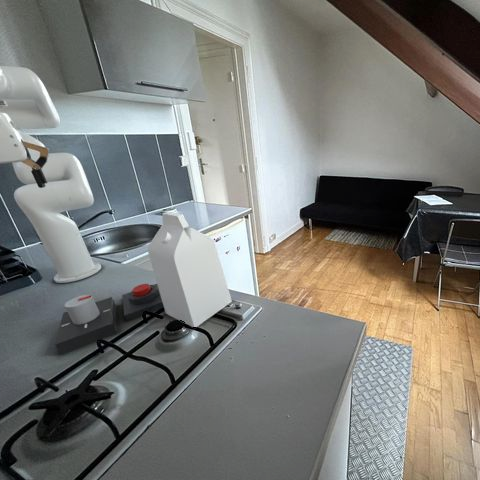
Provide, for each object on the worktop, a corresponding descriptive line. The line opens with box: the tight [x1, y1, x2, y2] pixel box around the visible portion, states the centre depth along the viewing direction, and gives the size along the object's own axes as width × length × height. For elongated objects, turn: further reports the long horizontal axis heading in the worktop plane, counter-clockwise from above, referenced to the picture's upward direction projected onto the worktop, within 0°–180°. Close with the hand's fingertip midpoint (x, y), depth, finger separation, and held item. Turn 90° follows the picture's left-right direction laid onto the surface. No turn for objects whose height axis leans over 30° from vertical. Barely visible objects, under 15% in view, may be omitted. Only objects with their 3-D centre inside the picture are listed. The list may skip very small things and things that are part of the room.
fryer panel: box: [54, 296, 118, 356], centre depth 64 cm, size 14×10×3 cm
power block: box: [121, 283, 164, 322], centre depth 72 cm, size 12×10×4 cm
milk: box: [147, 211, 233, 328], centre depth 64 cm, size 12×12×26 cm
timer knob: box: [64, 294, 100, 325], centre depth 62 cm, size 5×5×5 cm
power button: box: [132, 283, 151, 297], centre depth 71 cm, size 4×4×2 cm
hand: (13, 190), depth 58 cm, fingers open, 9 cm apart
